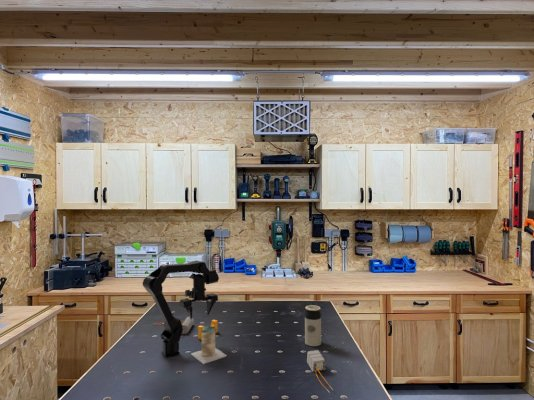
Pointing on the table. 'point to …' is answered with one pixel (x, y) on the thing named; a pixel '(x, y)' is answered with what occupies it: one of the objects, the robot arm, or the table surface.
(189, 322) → the motor
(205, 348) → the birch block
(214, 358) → the grey pad
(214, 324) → the pipe clamp
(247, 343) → the table surface
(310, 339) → the travel mug
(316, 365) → the electrical component
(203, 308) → the table surface
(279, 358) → the table surface
